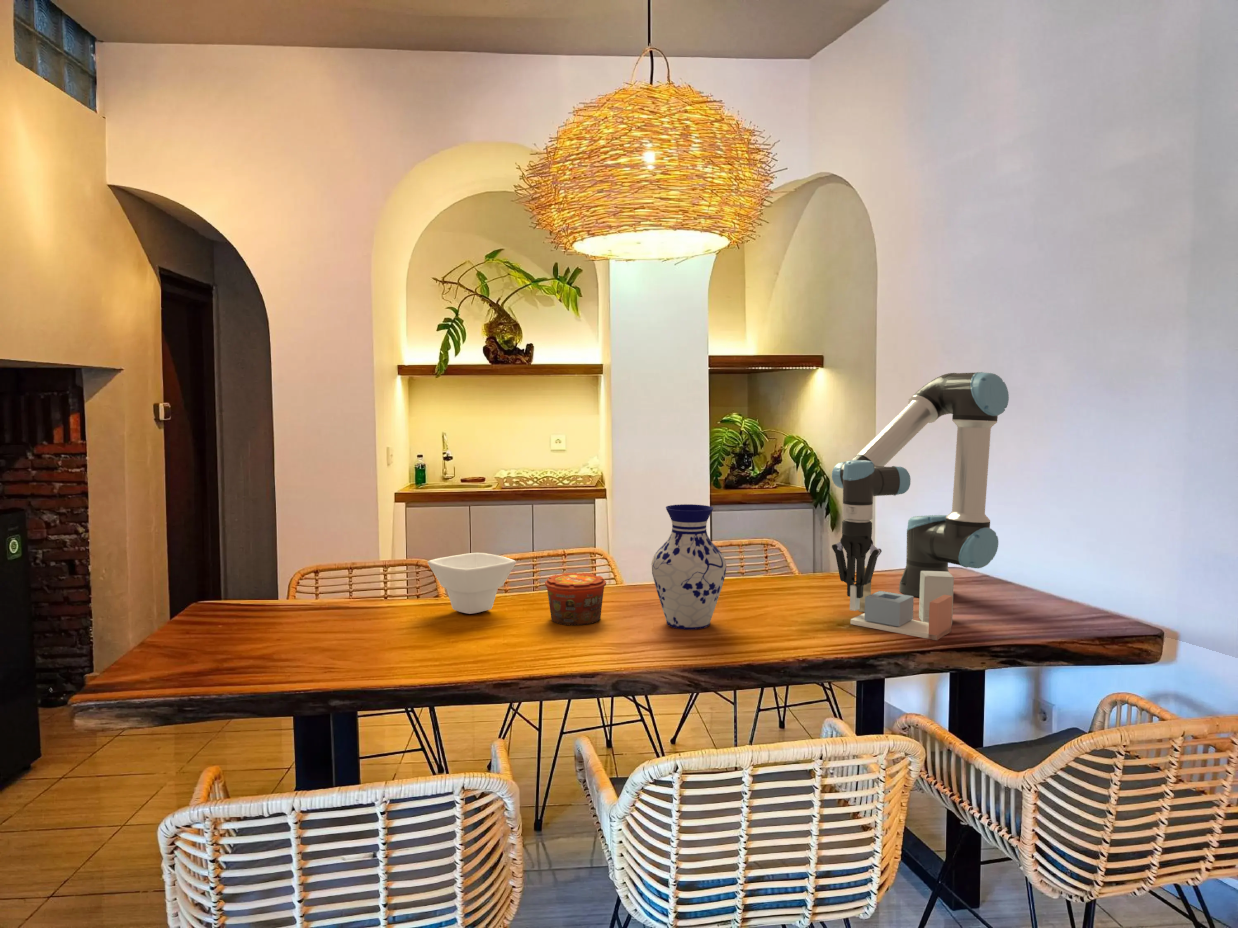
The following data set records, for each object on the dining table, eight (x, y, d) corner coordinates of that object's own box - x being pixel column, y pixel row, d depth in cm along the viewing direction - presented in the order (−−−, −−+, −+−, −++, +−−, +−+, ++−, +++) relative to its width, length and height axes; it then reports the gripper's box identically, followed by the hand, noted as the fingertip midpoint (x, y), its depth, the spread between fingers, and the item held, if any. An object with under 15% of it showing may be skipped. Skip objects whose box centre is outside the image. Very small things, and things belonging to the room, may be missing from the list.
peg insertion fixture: (866, 616, 228) (867, 582, 227) (951, 631, 213) (952, 595, 213) (850, 623, 220) (851, 589, 219) (936, 640, 206) (938, 603, 205)
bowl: (522, 611, 231) (522, 560, 230) (464, 625, 217) (463, 571, 216) (479, 599, 244) (479, 551, 243) (421, 612, 230) (420, 560, 229)
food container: (534, 623, 219) (534, 582, 218) (560, 609, 234) (560, 570, 233) (592, 630, 213) (592, 587, 213) (615, 614, 228) (615, 574, 228)
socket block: (879, 613, 225) (879, 590, 224) (912, 619, 219) (913, 596, 219) (864, 620, 218) (865, 596, 217) (899, 626, 212) (899, 602, 212)
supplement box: (952, 625, 219) (954, 576, 218) (922, 624, 220) (923, 575, 219) (947, 618, 226) (949, 571, 225) (918, 616, 227) (919, 569, 226)
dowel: (861, 608, 236) (862, 565, 235) (872, 610, 234) (873, 567, 232) (856, 610, 233) (857, 567, 232) (867, 612, 231) (868, 568, 230)
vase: (732, 617, 225) (734, 504, 223) (716, 637, 207) (718, 514, 205) (662, 611, 231) (663, 501, 229) (641, 629, 214) (642, 510, 211)
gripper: (827, 519, 224) (825, 608, 226) (875, 524, 215) (872, 616, 217) (840, 516, 229) (837, 602, 231) (887, 520, 221) (884, 610, 223)
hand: (854, 609), depth 224 cm, fingers closed
